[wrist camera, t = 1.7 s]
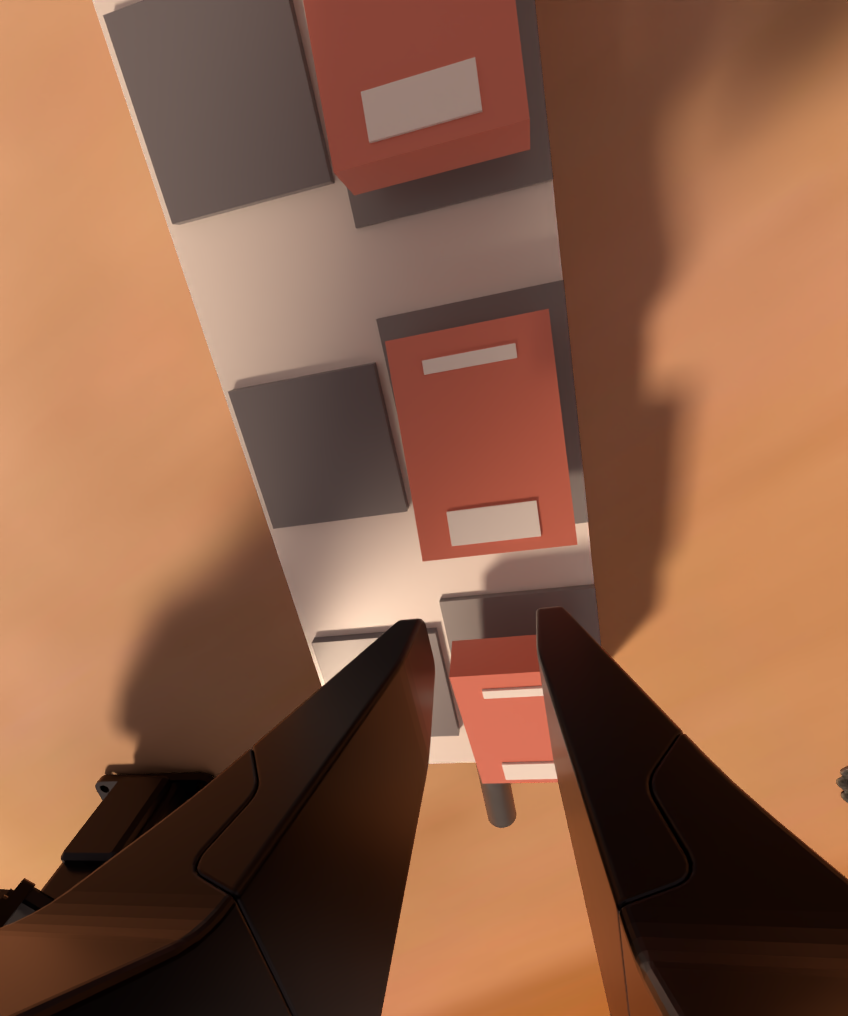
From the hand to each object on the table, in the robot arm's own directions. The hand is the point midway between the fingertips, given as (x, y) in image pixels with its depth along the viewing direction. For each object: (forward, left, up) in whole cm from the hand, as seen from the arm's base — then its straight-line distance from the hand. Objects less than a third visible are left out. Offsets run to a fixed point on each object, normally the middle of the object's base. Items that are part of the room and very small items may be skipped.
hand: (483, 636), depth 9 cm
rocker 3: (+10, 0, -5) cm, 11 cm away
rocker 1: (-6, 0, -5) cm, 8 cm away
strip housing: (-1, +2, -10) cm, 11 cm away
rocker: (+2, 0, -5) cm, 5 cm away
